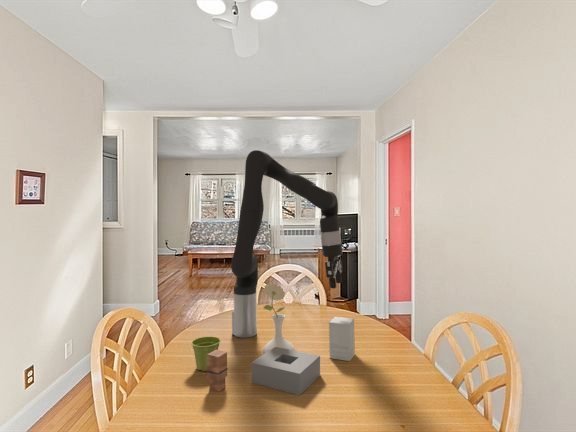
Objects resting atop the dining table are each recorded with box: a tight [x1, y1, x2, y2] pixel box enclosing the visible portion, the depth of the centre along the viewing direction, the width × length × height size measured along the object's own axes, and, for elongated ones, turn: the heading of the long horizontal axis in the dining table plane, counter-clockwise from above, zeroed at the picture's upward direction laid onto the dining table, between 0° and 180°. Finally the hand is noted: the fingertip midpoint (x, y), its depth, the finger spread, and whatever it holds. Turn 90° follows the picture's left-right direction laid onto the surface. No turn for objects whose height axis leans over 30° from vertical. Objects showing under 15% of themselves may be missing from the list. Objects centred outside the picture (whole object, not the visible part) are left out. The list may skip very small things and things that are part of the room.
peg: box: [206, 349, 229, 392], centre depth 105 cm, size 4×4×10 cm
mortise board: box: [250, 347, 321, 396], centre depth 110 cm, size 16×14×6 cm
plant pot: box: [190, 335, 222, 372], centre depth 119 cm, size 9×9×9 cm
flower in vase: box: [262, 282, 296, 355], centre depth 129 cm, size 13×11×25 cm
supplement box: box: [328, 316, 356, 362], centre depth 127 cm, size 7×7×13 cm
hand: (336, 285), depth 139 cm, fingers open, 8 cm apart
